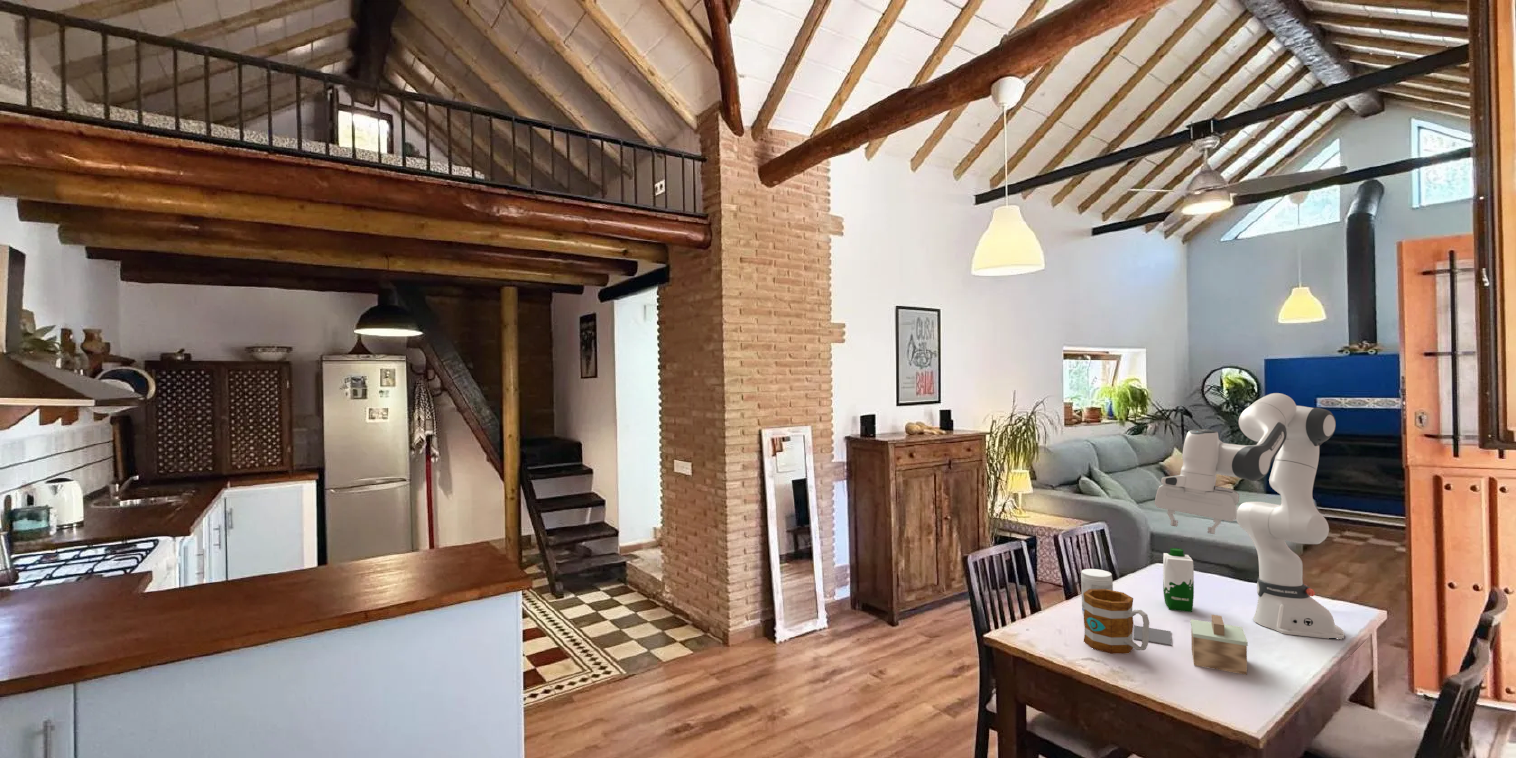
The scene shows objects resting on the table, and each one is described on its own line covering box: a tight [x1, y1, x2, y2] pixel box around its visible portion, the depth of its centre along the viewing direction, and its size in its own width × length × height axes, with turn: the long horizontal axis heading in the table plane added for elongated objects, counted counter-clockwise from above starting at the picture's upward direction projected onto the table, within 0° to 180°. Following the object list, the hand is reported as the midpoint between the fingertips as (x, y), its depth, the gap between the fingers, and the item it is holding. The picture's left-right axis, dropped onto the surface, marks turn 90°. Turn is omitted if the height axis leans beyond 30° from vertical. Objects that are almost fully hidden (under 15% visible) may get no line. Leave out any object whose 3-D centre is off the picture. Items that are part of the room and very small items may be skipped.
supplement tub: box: [1080, 568, 1114, 615], centre depth 222 cm, size 10×10×15 cm
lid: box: [1190, 614, 1249, 647], centre depth 185 cm, size 12×12×6 cm
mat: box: [1132, 624, 1173, 647], centre depth 204 cm, size 10×12×1 cm
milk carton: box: [1162, 547, 1195, 613], centre depth 228 cm, size 9×9×20 cm
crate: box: [1190, 627, 1248, 676], centre depth 185 cm, size 12×12×8 cm
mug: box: [1083, 589, 1150, 655], centre depth 195 cm, size 20×14×15 cm
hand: (1192, 529), depth 192 cm, fingers open, 8 cm apart
